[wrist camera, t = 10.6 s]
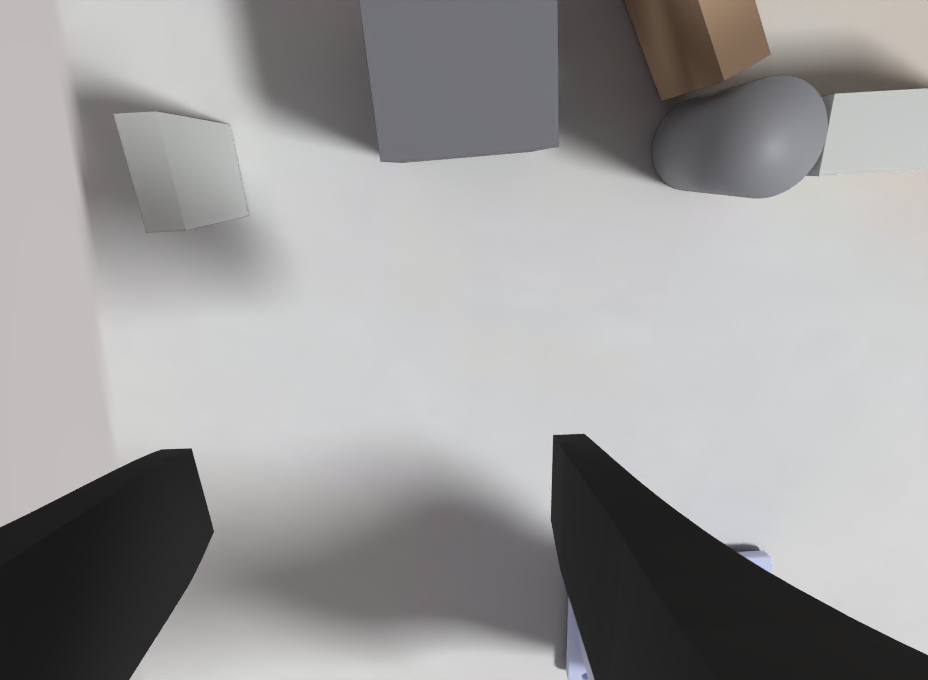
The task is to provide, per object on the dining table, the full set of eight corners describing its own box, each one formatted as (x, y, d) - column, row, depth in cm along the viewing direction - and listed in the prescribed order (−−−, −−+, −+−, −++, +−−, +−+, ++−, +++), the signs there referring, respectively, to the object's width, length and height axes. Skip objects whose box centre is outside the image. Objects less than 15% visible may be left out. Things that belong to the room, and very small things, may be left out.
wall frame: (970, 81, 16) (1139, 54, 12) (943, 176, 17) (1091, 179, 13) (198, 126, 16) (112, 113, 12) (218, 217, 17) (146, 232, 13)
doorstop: (526, -1, 15) (556, -76, 10) (530, 151, 17) (558, 146, 12) (385, 12, 15) (352, -57, 10) (402, 163, 17) (380, 161, 12)
